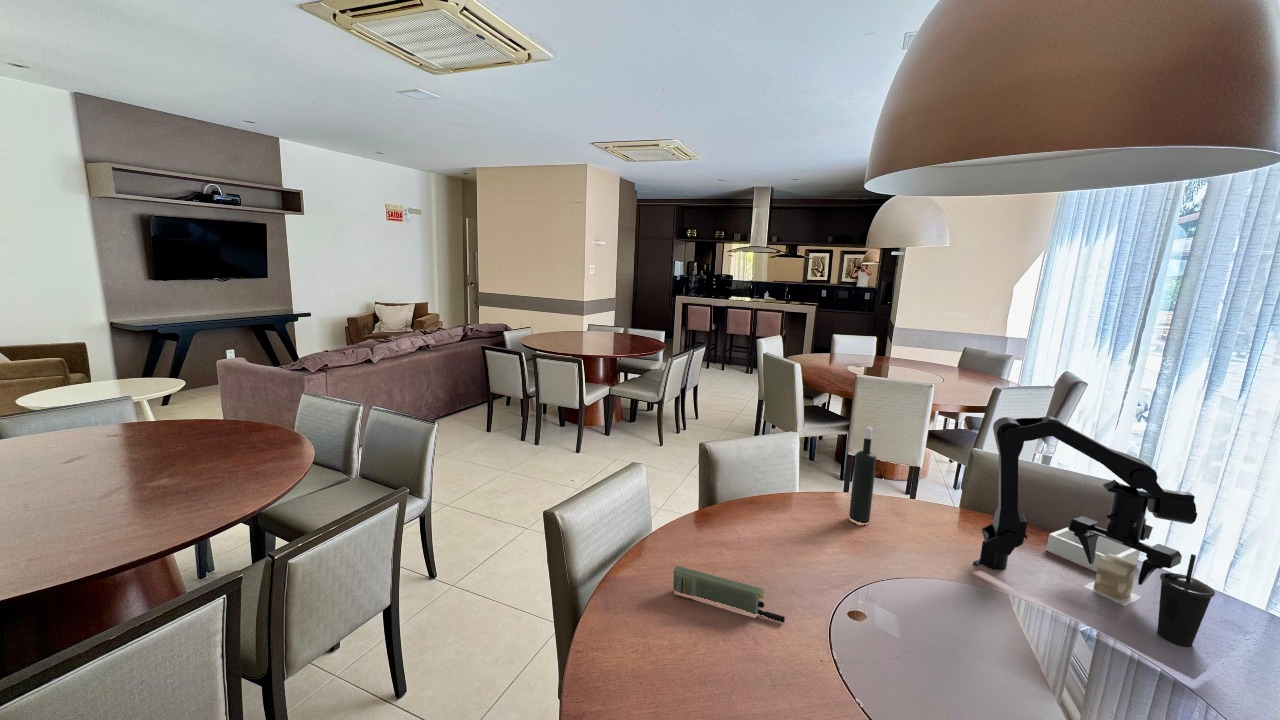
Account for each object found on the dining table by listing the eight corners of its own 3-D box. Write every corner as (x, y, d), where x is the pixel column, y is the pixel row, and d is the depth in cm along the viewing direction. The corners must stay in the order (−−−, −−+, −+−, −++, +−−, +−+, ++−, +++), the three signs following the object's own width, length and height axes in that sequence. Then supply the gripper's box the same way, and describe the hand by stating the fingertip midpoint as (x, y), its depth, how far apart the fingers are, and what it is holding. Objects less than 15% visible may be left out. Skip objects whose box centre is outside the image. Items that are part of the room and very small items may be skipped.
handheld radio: (676, 588, 119) (785, 620, 109) (671, 597, 117) (783, 630, 107) (677, 563, 118) (787, 592, 108) (672, 571, 115) (785, 602, 105)
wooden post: (1120, 600, 117) (1126, 568, 116) (1093, 588, 122) (1099, 557, 120) (1130, 595, 119) (1136, 564, 118) (1104, 583, 124) (1110, 553, 123)
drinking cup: (1207, 662, 100) (1229, 570, 97) (1154, 646, 104) (1174, 557, 101) (1192, 639, 107) (1212, 552, 103) (1142, 625, 111) (1161, 541, 107)
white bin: (1109, 582, 127) (1114, 560, 126) (1045, 554, 139) (1049, 533, 138) (1136, 569, 133) (1140, 548, 132) (1072, 543, 145) (1076, 524, 144)
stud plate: (1124, 610, 116) (1128, 592, 115) (1081, 590, 123) (1085, 573, 122) (1140, 601, 119) (1144, 583, 118) (1098, 583, 126) (1102, 565, 125)
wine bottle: (851, 525, 152) (861, 429, 147) (846, 516, 158) (856, 423, 153) (871, 527, 151) (882, 430, 146) (866, 518, 157) (876, 425, 152)
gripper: (1199, 523, 113) (1184, 587, 115) (1095, 490, 129) (1084, 547, 132) (1177, 533, 108) (1162, 599, 110) (1072, 498, 124) (1061, 556, 127)
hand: (1114, 573), depth 120 cm, fingers open, 9 cm apart
